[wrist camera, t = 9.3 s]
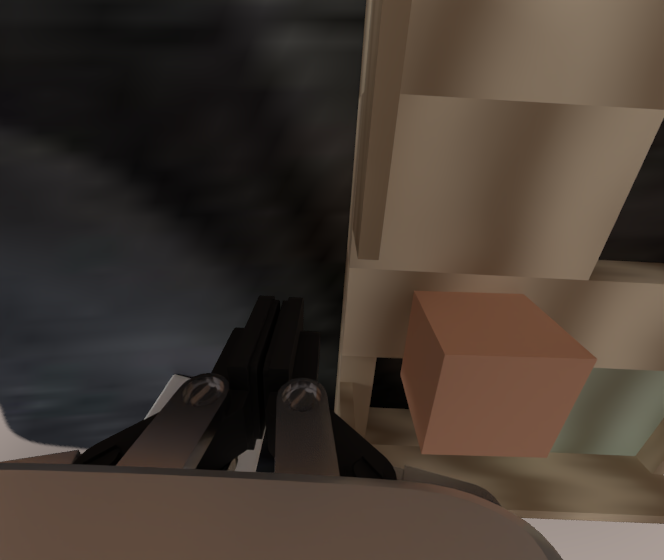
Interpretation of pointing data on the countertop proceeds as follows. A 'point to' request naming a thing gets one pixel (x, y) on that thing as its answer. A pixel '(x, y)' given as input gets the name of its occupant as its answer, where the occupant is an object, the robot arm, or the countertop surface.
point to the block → (489, 374)
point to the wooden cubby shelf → (513, 225)
